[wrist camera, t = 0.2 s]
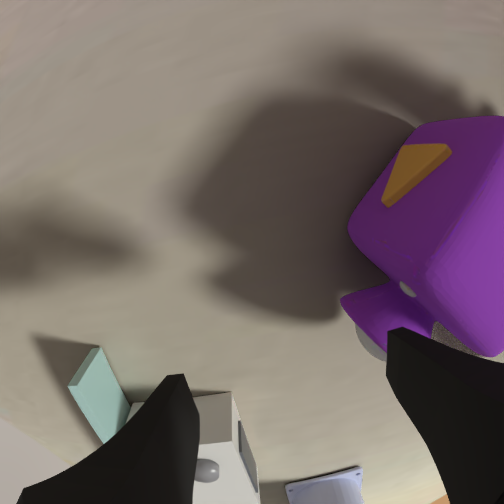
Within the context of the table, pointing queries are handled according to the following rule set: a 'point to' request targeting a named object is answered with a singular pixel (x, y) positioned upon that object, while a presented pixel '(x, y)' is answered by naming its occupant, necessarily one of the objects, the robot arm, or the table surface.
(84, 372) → the side door
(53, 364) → the table surface
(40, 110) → the table surface
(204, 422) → the block
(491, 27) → the table surface
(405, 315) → the toy camera
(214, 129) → the table surface
